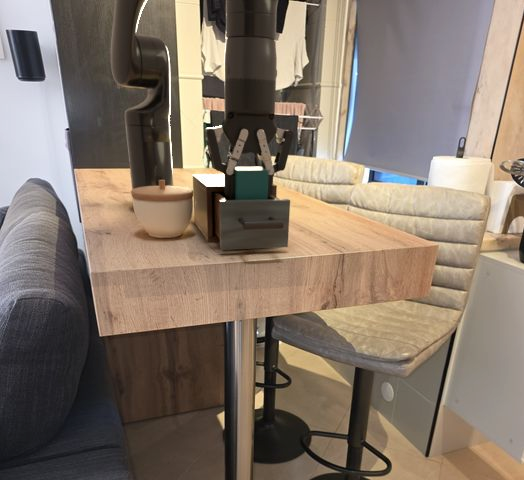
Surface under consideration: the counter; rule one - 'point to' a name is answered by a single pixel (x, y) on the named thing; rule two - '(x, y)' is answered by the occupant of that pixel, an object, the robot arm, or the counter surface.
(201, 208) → the cabinet
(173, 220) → the trinket box
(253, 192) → the block
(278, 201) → the drawer
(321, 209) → the counter surface
